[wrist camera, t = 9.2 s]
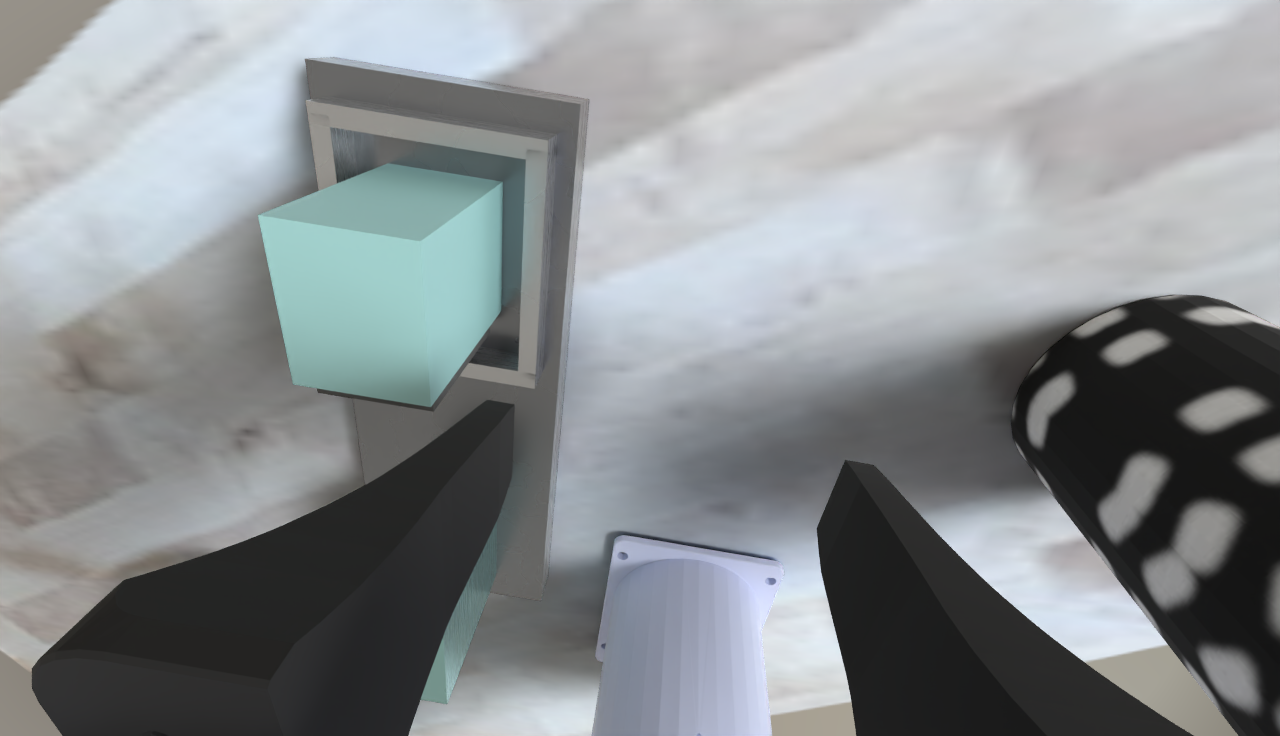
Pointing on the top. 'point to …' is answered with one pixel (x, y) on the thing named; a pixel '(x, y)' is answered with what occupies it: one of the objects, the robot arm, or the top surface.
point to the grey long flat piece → (531, 288)
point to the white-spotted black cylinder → (1175, 479)
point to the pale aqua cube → (387, 282)
